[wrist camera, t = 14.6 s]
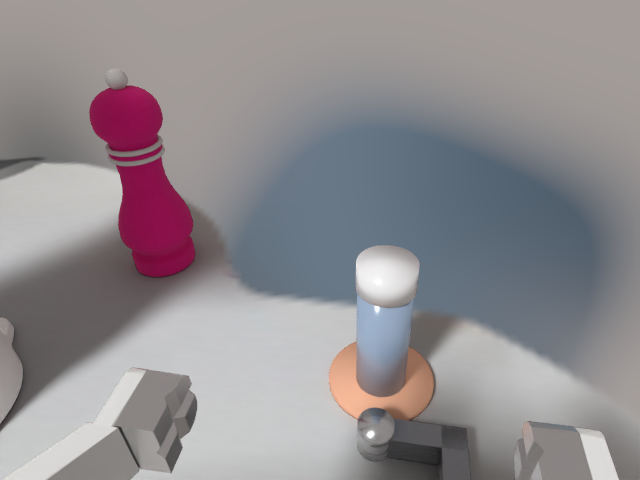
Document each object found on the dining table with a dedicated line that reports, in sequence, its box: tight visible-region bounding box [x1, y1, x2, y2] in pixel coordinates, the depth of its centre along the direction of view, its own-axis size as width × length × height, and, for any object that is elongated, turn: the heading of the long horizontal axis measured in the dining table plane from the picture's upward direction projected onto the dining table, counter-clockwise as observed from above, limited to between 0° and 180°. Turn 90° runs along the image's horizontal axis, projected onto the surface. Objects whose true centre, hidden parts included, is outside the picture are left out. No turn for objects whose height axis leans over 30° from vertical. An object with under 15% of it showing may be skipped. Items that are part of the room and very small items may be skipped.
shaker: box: [356, 245, 419, 397], centre depth 33 cm, size 4×4×11 cm
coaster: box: [329, 342, 434, 421], centre depth 36 cm, size 8×8×1 cm
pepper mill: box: [90, 68, 195, 277], centre depth 44 cm, size 7×7×20 cm
